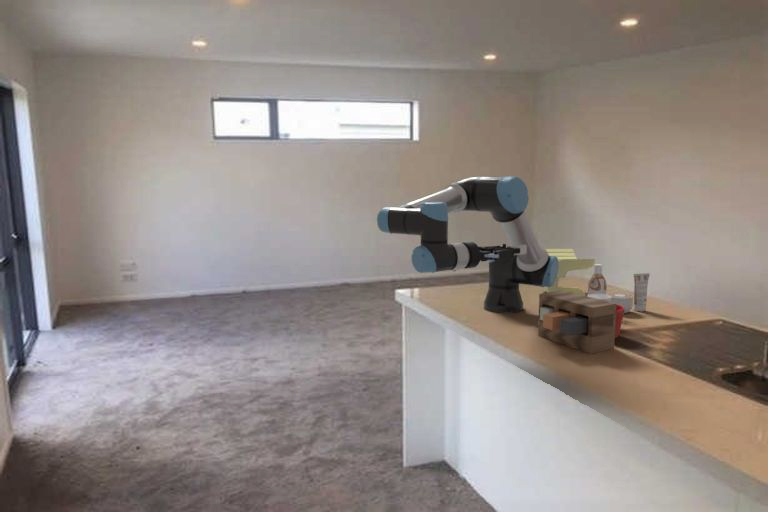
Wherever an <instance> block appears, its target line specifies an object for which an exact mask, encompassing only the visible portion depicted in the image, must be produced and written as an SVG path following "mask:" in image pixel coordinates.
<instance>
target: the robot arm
mask: <svg viewBox="0 0 768 512" xmlns="http://www.w3.org/2000/svg"><path fill="white" fill-rule="evenodd" d="M528 193H529V189H528V187H527V184H526V182H524V180H523V179H522V178H520V177H517V176H512V175H504V176H503V175H499V176H498V175H497V176H496V175H495V176H490V175H486V176H483V175H482V176H481V175H479V176H478V175H477V176H472V177H467V178H465V179H461V180H459V181H455V182H452V183H450V184H447V185H446V186H445V187H444V188H443V190H440V191H437V192H435V193H432V194H429V195H426V196H424V197H422V198H419V199H416V200H414V201H411V202H408V203H405V204H402V205H399V206H396V207H393V206H386V207H383V208H381V209H379V212H378V213H377V217H376V222H377V227H378V229H379V231H381V232H383V233H389V234H390V235H391V234H392V235H393V234H398V235H410V236H411V235H413V236H420V245H419V246H416V247H414V249H412V254H411V263H412V266H413V267H414V270H415V271H416V272H417V273H419V274H426V273H432V274H433V273H438V272H445V271H446V272H447V271H452V272H457V270H463V269H473V268H476V267H477V266H478V265H479V264H480V262H488V290H487V293H486V295H485V299H484V301H483V308H484V309H485V310H487V311H491V312H496V313H516V312H521V311H522V310H524V302H523V297H522V293H521V292H520V285H526V286H527V285H528V286H535V287H541V288H542V287H551V286H552V285H553V284H554V283H555V281H556V278H557V274H558V268H559V262H558V258H557V257H555V256H549V255H548V253H547V251H546V250H545V249H546V248H545V247H543V246H541V245H540V244H539V241H538V239H537V237H536V235H535V233H534V231H533V228H532V226H531V224H530V222H529V219H528V216H527V215H526V213H525V211H526V209H527V207H528V204H529V194H528ZM463 211H466V212H467V211H468V212H469V211H473V212H487V213H490V214H491V216H492V218H493V220H494V221H496V222H497V223H500V225H501V226H502V228H503V230H504V232H505V234H506V236H507V238H508V240H509V242H510V244H511V245H507V244H506V243H503V244H502V246H501V245H489V246H478V245H477V243H475V242H473V241H467V242H466V241H465V242H451V243H449V241H448V235H449V234H448V233H449V231H448V230H449V228H448V227H449V216H448V214H450V213H459V212H463Z"/></svg>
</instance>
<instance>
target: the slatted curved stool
mask: <svg viewBox="0 0 768 512" xmlns="http://www.w3.org/2000/svg"><path fill="white" fill-rule="evenodd" d="M544 249H545V250H546V251H547V253H548V255H549V256H555V257H557V258H558V262H559V268H558V274H557V278H556V281H555V283H554V284H553V285H552V286H551V287H541V288H542V290H544V292H545V293H548V292H555V291H566V292H570V293H575V294H579V295H583V296H587V294H586V292H585V291H583V290H582V289H580V288H579V287H568V286H566V287H565V286H559V285H558V284H559V281H560V279H562V278H566V275H567V273H568V272H570V271H579V270H588V269H591V268H593V267H594V264H595V262H596V261H595V258H583V259H581V258H577V256H576V253H575V251H574V249H573V248H544Z"/></svg>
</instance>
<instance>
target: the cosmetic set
mask: <svg viewBox="0 0 768 512" xmlns="http://www.w3.org/2000/svg"><path fill="white" fill-rule="evenodd" d="M602 271H603V264H602V263H600V264H599V263H594V266H593V274H592V275H591V277H590V278H589V280H588V283H587V295H589V294H605V295H609V296H611V302H612V303H616V305H621V306H623V307H624V308H625V309H624V314H628V313H629V312H630V311H631V310H632V309H633V310H634V311H635V312H638V311H640V312H642V313H643V311H644V312H645V311H646V310H647V296H648V285H649V278H650V274H651V273H650V272H647V273H643V272H642V273H634V274H633V280H634V291H633V293H634V294H629V293H624V292H622V293H621V292H610V293H607V280H606V279H605V277H604V275H603V274H602Z"/></svg>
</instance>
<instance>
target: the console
mask: <svg viewBox="0 0 768 512" xmlns="http://www.w3.org/2000/svg"><path fill="white" fill-rule="evenodd" d="M538 297H539V298H538V332H537V333H538V334H537V336H539V337H542V338H545V339H547V340H550V341H553V342H556V343H558V344H561V345H565V346H567V347H570V348H573V349H576V350H580V351H582V352H584V353H587V354H590V355H591V354H592V355H593V354H596V353H601V352H605V351H609V350H613V349H615V343H616V342H615V341H616V340H615V339H616V338H615V324H616V303H612V302H608V301H604V300H600V299H595V298H591V297H587V295H586V296H583V295H579V294H575V293H570V292H566V291H555V292H548V293H547V292H542V293H539V294H538ZM547 306H552V307H554V313H555V312H560V311H566V310H567V311H570V312H571V314H570V318H571V317H577V316H582V315H585V316H589V318H588V332H587V333H582V334H577V335H572V336H570V335H567V334H564V333H561V332H560V329H556V330H550V329H547V328H544V327H543V321H542V320H540V308H541V307H547Z"/></svg>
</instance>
